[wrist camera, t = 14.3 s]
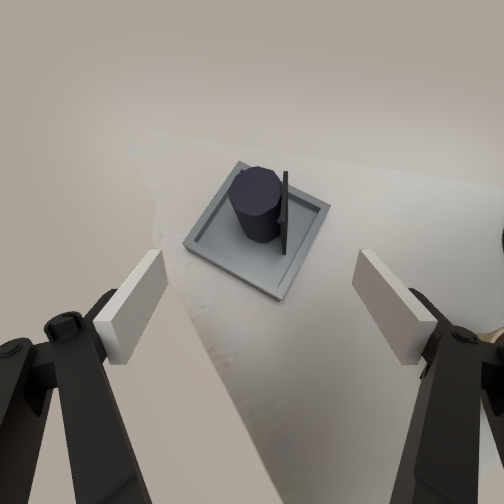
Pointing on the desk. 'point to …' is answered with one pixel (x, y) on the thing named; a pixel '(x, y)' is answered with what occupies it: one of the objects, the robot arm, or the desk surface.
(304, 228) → the tray
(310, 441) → the desk surface
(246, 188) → the dark cylinder with plate
